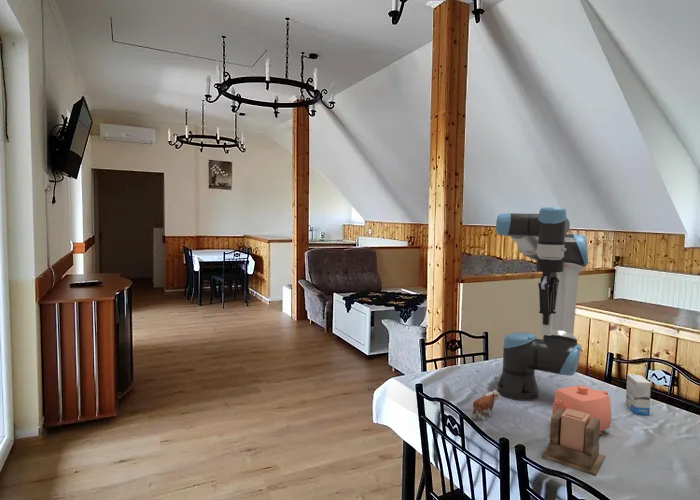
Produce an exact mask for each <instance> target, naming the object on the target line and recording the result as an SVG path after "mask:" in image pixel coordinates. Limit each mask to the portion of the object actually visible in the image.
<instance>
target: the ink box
mask: <svg viewBox="0 0 700 500" xmlns="http://www.w3.org/2000/svg"><path fill="white" fill-rule="evenodd" d="M651 385H652V384H651V382H650V381H649V380H648V379H646V377H644V376H642V375H641V374H631V373H628V374H626V390H625V393H626V394H625V406H626V407H627V408H628V409H629V410H630V411H632V413H634V415H638V416H639V415H641V416H642V415H643V416H650V405H651Z"/></svg>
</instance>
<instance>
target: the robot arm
mask: <svg viewBox="0 0 700 500" xmlns="http://www.w3.org/2000/svg"><path fill="white" fill-rule="evenodd" d="M538 212H539V213H513V212H512V213H511V212H507V213H499V214H498V215H497V218H496V222H495V223H496V224H495V231H496V234H497V235H499V236H503V237H510V238H511V239H512V240H513V241H514V242H515V244H516V245H517V249H518V251H520V253H521V254H522V255H524V256H526V257H527V258H530V259H531V260H535V261H536V270H537V271H538V272H542V275H541V276H540V282H538V284H537V285H538V290H539V291H538V293H539V294H538V295H539V311H538V313H539V314H541V327H540V328H541V329H540V335H542V336H543V337H542V338H541V339H540V338H538V336H537V335H536V334H535V333H533V332H525V331H524V332H512V333H508V334H507V335H505V337H504V338H503V340H504V341H503V345H502V347H503V353H502V357H503V358H502V372H501V374H500V377H499V380H498V381H497V385H496V391H497V392H498V393H499V394H500V396H501V395H502V396H503V397H505V398H508V399H513V400H518V401H532V400H535V399H538V398H539V392H540V389H539V386H538V383H537V379H536V375H535V372H536V371H539V372H540V371H541V372H544V373H549V374H550V373H551V374H556V375H560V376H562V375H563V376H569V377H570V376H571V377H572V376H574V375H575V374H576V373H577V369H578V366H579V363H580V357H581V353H582V345H580V344H578V339H577V337H576V336H575V334H574V333H575V331H574V330H575V320H576V308H577V307H576V306H577V297H578V296H577V295H578V286H579V273H581V272H582V271H584V268H585V267H584V266H587V265H589V255H588V254H589V253H588V241H587V240H588V239H587V237H586V236H585V235H583V234H575V233H568V232H569V231H570V226H571V224H570V220H569V218H568V217H567V209H566V208H565V207H560V206H559V207H557V206H555V207H551V206H550V207H549V206H547V207H546V206H544V207H541V208H540V209H539V211H538Z"/></svg>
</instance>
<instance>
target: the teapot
mask: <svg viewBox="0 0 700 500" xmlns="http://www.w3.org/2000/svg"><path fill="white" fill-rule="evenodd" d="M567 408H568V409H572V410H576V411H580V412H584V413H586V414H590V420H591V419H592V418H596V419H600V432H599V435H603V432H602V431H605V430H608V429H610V427H611V423H612V405H611V397H610V396H609V392H608V391H605V390H603V389H599V390H597V389H595V388H591V387H589V386H587V385H584V384H583V385H579V384H578V385H572V386H566V387H562V388H558V389H556V391H555V395H554V400H553V404H552V413H551V414H552V415H551V416H553V415H554V414H555V413H556V411H557V410H558V409H563V410H566V409H567ZM589 422H590V421H589Z"/></svg>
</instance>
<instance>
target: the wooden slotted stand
mask: <svg viewBox="0 0 700 500" xmlns="http://www.w3.org/2000/svg"><path fill="white" fill-rule="evenodd" d="M565 411H566V410H563V409H558V410H557V411H556V413H555V414H554V415H551V417H550V429H549V430H550V432H549V443H548V446H547V447H546V449H545V450H544V451H543V452H542V454H541V456H540V457H541V458H543V459H545V460H548V461H551V462H554V463H557V464H560V465H563V466H566V467H569V468H572V469H575V470H578V471H581V472H583V471H584V473H587V474H589V475H593V476H595V477H597V475H598V473H599V470H601V466H602V464H603V462H604V460H605V459H606V455H605V454H601V453H600V434H599V432H600V419H596V418H592V419H591V420H590V422H589V423H588V425H587V426H586V431H585V448H584V453H583V452H580V451H577V450H573V449H570V448H567V447H564V446H561V445H560V435H561V416H562V414H563V413H564V412H565Z"/></svg>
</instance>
